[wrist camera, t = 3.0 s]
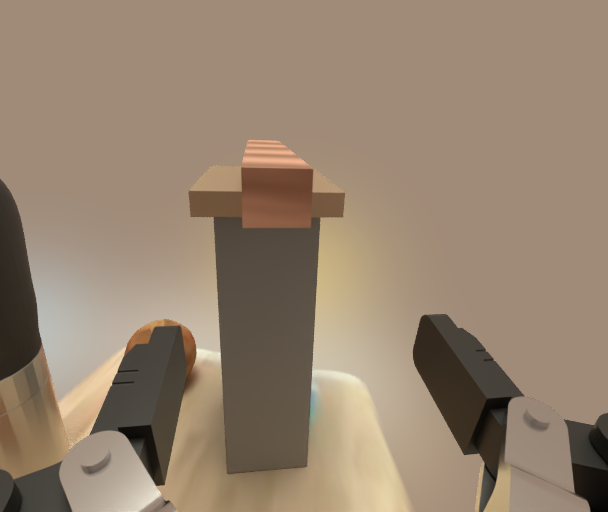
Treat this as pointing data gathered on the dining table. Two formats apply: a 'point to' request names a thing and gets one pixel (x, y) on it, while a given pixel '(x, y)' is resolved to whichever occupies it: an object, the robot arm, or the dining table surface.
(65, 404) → the dining table surface
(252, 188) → the batten
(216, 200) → the stand
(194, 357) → the onion
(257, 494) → the dining table surface
